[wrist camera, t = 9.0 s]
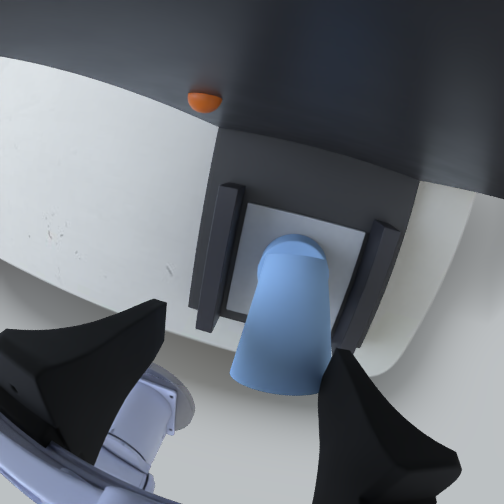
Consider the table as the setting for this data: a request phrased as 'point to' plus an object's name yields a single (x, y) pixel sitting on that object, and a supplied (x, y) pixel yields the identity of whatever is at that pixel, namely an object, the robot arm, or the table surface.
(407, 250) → the table surface
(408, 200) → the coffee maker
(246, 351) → the spotlight
